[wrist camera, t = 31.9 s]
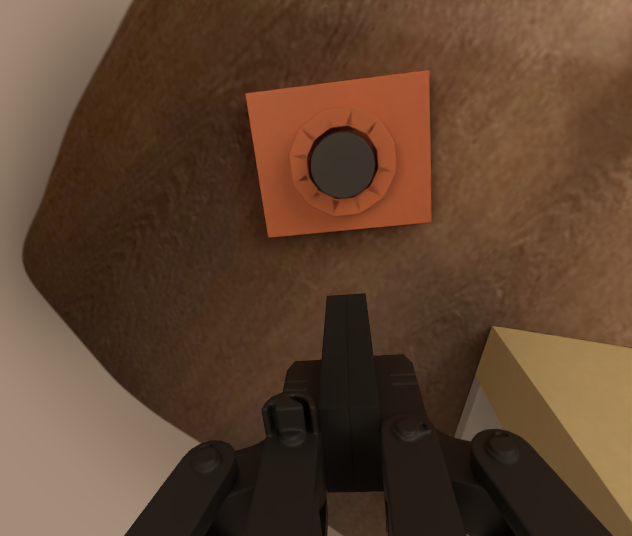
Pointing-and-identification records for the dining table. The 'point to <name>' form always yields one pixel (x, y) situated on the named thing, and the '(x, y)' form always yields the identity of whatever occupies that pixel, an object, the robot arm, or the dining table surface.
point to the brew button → (342, 164)
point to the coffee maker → (562, 412)
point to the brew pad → (353, 116)
